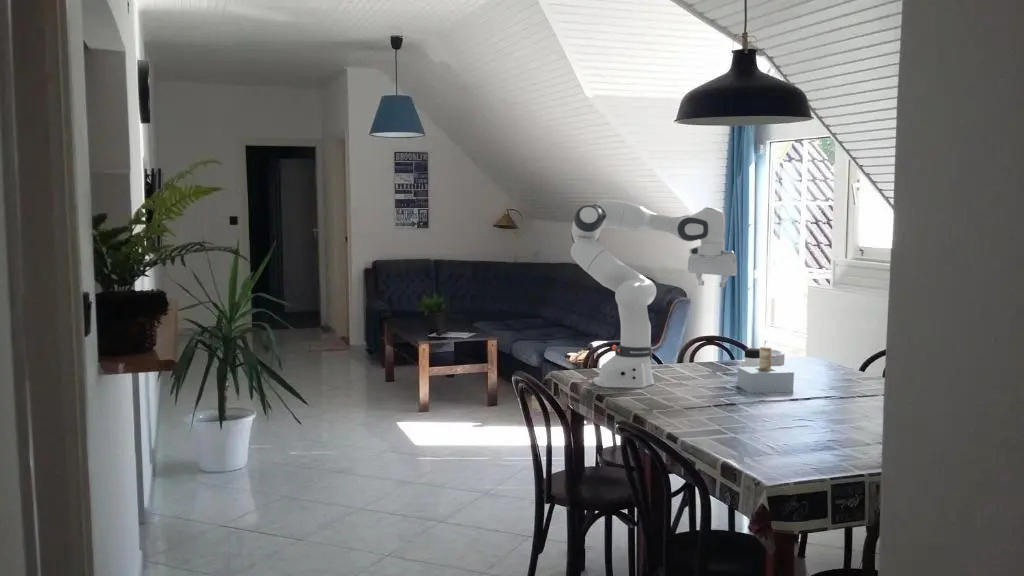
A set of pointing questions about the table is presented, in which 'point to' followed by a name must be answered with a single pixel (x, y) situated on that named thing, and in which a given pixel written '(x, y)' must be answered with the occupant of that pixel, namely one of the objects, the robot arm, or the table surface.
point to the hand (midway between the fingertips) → (711, 286)
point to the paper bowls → (777, 357)
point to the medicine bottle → (751, 358)
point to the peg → (765, 359)
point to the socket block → (765, 379)
